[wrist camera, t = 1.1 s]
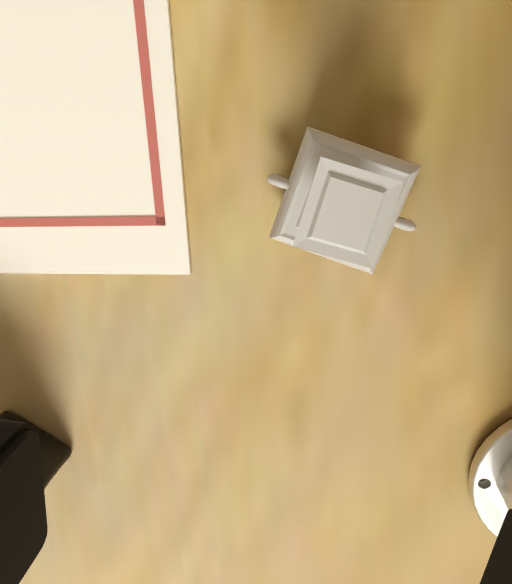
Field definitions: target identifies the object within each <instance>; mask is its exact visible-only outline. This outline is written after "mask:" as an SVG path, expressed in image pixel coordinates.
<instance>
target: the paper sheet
mask: <svg viewBox="0 0 512 584" xmlns="http://www.w3.org/2000/svg"><path fill="white" fill-rule="evenodd" d="M0 273H53V274H191V263H190V251H189V239H188V227H187V215H186V202H185V190H184V178H183V166H182V154H181V142H180V130H179V118H178V106H177V94H176V82H175V70H174V57H173V45H172V33H171V21H170V9H169V0H0Z"/></svg>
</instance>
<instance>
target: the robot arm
mask: <svg viewBox="0 0 512 584" xmlns="http://www.w3.org/2000/svg"><path fill="white" fill-rule="evenodd" d="M468 480H469V493H470V496H471V499H472V502H473V505H474V507H475V509H476V512H477V514H478V516H479V518H480V519H481V521H482V522H483V524H484V525H485V526H486V528H487V529H488V530H489V531H490V532H492V533H493V534H494V535H495V536H496V537H497V539H496V542H495V545H494V547H493V550H492V553H491V555H490V558H489V561H488V563H487V566H486V569H485V571H484V574H483V577H482V579H481V582H480V584H512V419H511V420H509V421H507V422H506V423H504V424H503V425H501V426H500V427H498V428H497V429H496V430H495V431H494V432H493V433H492V434H491V435H490V436H488V437H487V438H486V440H485V441H484V442H483V444H482V445H481V446H480V448H479V449H478V450H477V452H476V454H475V457H474V459H473V461H472V463H471V467H470V472H469V477H468ZM46 536H47V518H46V507H45V496H44V484H43V473H42V462H41V450H40V439H39V434H38V433H37V432H33V428H32V426H31V424H29V423H24V422H18V421H12V420H6V419H1V420H0V584H19V583H20V581H21V580H22V578H23V577H24V575H25V573H26V572H27V570H28V569H29V567H30V566H31V564H32V563H33V561H34V559H35V558H36V556H37V555H38V553H39V552H40V550H41V548H42V547H43V544H44V542H45V539H46Z"/></svg>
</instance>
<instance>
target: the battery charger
mask: <svg viewBox="0 0 512 584" xmlns="http://www.w3.org/2000/svg"><path fill="white" fill-rule="evenodd" d="M1 419H6V420H12V421H18V422H24V423H28V422H26V421H25V420H23V419H21V418H19V417H17V416H16V415H14V414H12V413H10V412H8V411H4V412H2V413H1V414H0V420H1ZM29 424H30V423H29ZM31 426H32V428H33V432H37V433H38V434H39V439H40V450H41V462H42V473H43V484H44V491H45V489H46V488H47V487H48V485H49V484H50V483H51V481H52V480H53V479H54V477H55V476H56V475H57V474H58V472H59V471H60V470H61V469H62V468H63V466H64V465H65V464H66V463H67V462H68V461H69V459H70V457H71V453H72V451H71V449H70V448H68V447H67V446H65V445H64V444H62V443H61V442H59V441H58V440H56V439H55V438H53V437H51V436H50V435H48V434H47V433H45V432H43V431H42V430H40V429H38V428H37V427H35V426H33V425H32V424H31Z"/></svg>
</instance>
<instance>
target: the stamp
mask: <svg viewBox="0 0 512 584" xmlns="http://www.w3.org/2000/svg"><path fill="white" fill-rule="evenodd" d="M419 170H420V165H417V164H414V163H411V162H408V161H405V160H403V159H400V158H397V157H394V156H391V155H388V154H385V153H383V152H380V151H377V150H374V149H371V148H368V147H366V146H363V145H360V144H357V143H354V142H351V141H349V140H346V139H343V138H340V137H337V136H334V135H331V134H329V133H326V132H323V131H320V130H317V129H314V128H312V127H309V126H307V129H306V132H305V135H304V138H303V141H302V143H301V146H300V149H299V152H298V155H297V158H296V161H295V164H294V166H293V169H292V172H291V175H290V178H289V179H287V178H285V177H282V176H280V175H277V174H271V175H269V176H268V179H267V180H268V182H269V183H270V184H272V185H275V186H277V187H280V188H283V189H286V190H285V192H284V195H283V198H282V201H281V204H280V207H279V210H278V213H277V216H276V218H275V221H274V224H273V227H272V230H271V233H270V238H272V239H275V240H278V241H281V242H284V243H286V244H289V245H292V246H293V247H296V248H300V249H303V250H306V251H309V252H311V253H314V254H317V255H320V256H323V257H325V258H328V259H331V260H334V261H337V262H339V263H342V264H345V265H348V266H350V267H353V268H356V269H359V270H362V271H364V272H367V273H370V274H373V273H374V270H375V268H376V266H377V264H378V261H379V259H380V257H381V255H382V252H383V250H384V248H385V246H386V244H387V241H388V239H389V237H390V235H391V232H392V230H393V228H394V227H397V228H399V229H402V230H406V231H413V230H415V229H416V224H415V223H414V222H412V221H411V220H408V219H405V218H402V217H399V214H400V212H401V210H402V208H403V205H404V203H405V201H406V199H407V197H408V194H409V192H410V190H411V188H412V185H413V183H414V181H415V179H416V176H417V174H418V172H419Z"/></svg>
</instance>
